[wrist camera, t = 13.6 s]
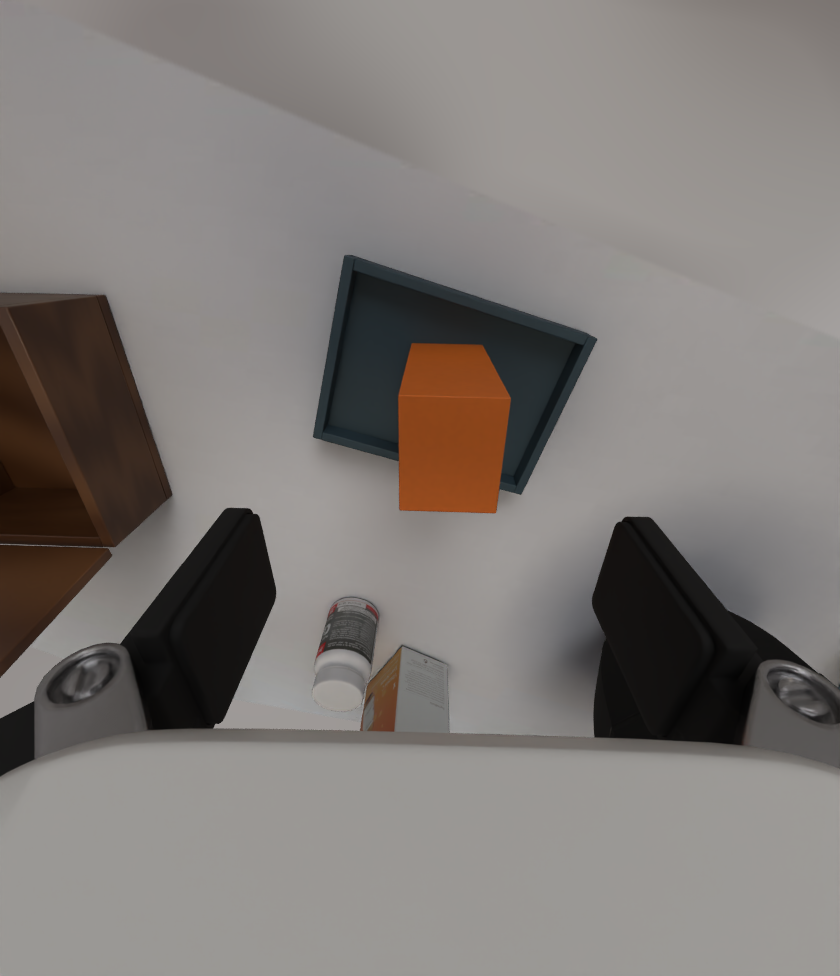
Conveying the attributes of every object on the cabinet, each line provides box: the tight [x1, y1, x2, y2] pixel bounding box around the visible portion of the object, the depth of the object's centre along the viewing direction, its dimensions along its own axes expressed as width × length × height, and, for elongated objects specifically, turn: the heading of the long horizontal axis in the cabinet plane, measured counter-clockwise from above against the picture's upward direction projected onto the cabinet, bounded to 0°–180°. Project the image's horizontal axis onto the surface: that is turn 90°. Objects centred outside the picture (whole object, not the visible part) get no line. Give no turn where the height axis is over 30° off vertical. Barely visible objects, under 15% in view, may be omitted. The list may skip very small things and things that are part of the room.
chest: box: [0, 293, 172, 547], centre depth 26 cm, size 15×13×7 cm
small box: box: [360, 646, 449, 733], centre depth 39 cm, size 8×6×10 cm
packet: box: [398, 343, 511, 513], centre depth 22 cm, size 6×4×11 cm
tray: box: [313, 255, 597, 495], centre depth 27 cm, size 15×11×2 cm
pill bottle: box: [312, 598, 379, 712], centre depth 35 cm, size 5×5×8 cm
